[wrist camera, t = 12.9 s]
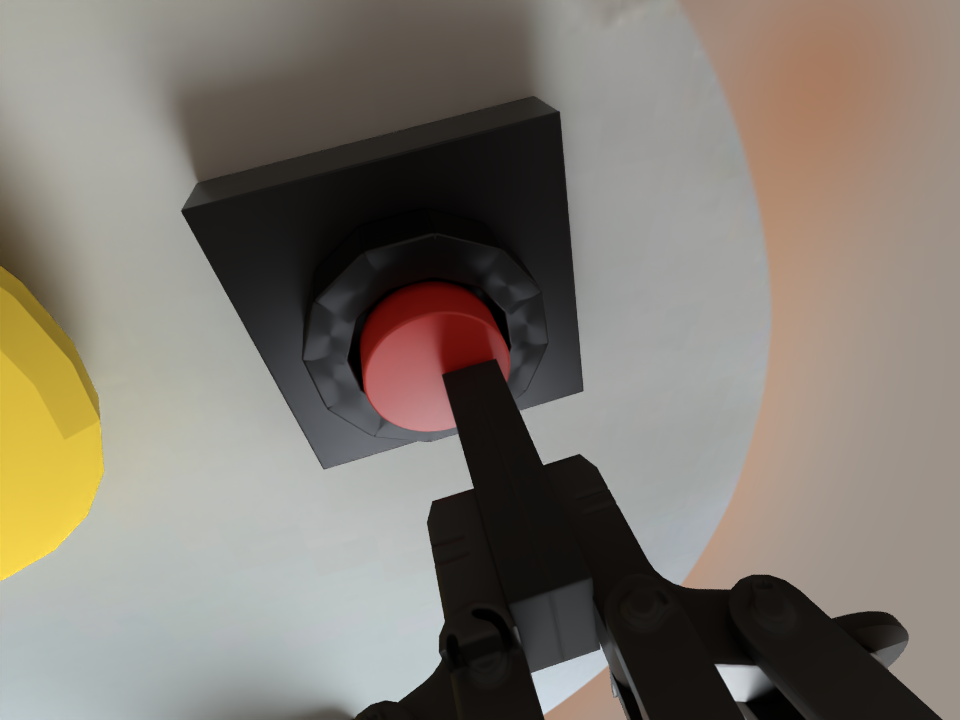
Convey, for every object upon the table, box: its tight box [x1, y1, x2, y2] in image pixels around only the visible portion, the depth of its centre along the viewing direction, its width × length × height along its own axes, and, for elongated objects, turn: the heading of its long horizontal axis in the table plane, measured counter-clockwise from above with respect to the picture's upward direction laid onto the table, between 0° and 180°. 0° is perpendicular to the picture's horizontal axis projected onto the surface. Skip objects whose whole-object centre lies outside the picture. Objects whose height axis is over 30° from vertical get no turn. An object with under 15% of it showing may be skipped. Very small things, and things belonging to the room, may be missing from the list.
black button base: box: [181, 96, 583, 469], centre depth 17 cm, size 10×10×4 cm
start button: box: [360, 281, 510, 432], centre depth 15 cm, size 4×4×2 cm
